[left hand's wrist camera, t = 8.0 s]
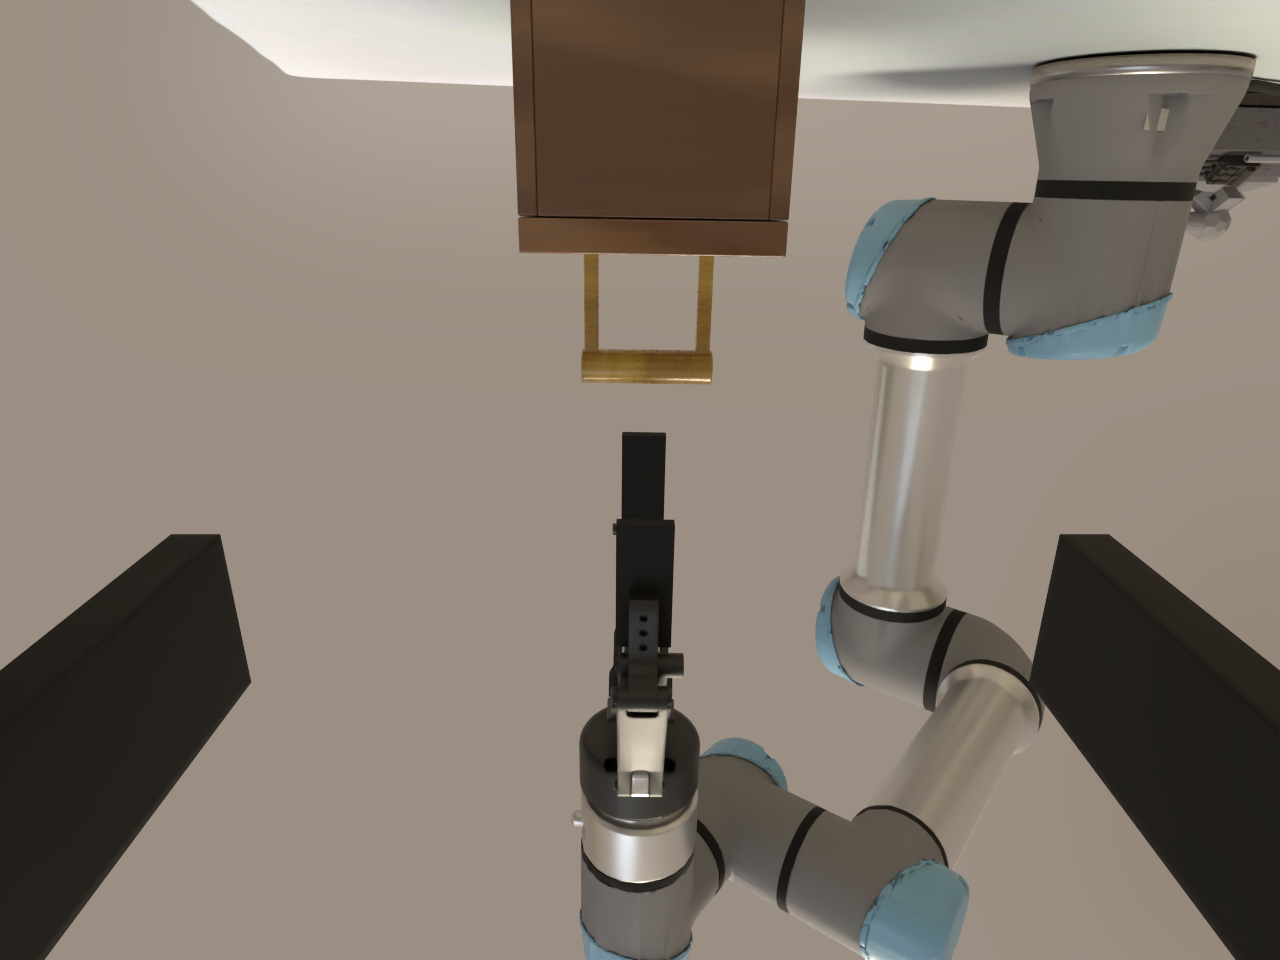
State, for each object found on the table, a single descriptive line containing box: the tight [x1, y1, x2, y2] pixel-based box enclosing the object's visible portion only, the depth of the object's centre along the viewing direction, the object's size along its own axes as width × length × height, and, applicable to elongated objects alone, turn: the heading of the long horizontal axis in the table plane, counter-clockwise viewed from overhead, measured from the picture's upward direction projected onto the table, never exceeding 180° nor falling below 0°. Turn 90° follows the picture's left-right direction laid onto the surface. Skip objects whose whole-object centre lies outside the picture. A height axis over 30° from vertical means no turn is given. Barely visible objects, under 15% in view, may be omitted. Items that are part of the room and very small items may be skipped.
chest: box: [510, 0, 805, 220], centre depth 33 cm, size 13×10×10 cm
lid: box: [518, 215, 788, 384], centre depth 37 cm, size 13×10×9 cm
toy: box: [1184, 93, 1280, 241], centre depth 93 cm, size 25×20×15 cm
